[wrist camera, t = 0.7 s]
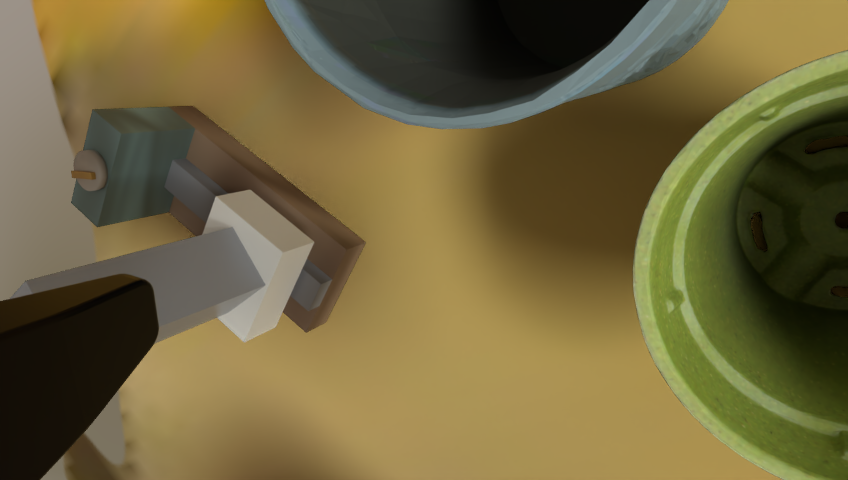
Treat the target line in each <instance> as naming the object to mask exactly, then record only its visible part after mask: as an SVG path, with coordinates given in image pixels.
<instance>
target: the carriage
mask: <svg viewBox="0 0 848 480" xmlns="http://www.w3.org/2000/svg"><path fill="white" fill-rule="evenodd" d="M313 244H314V241H313V240H312V239H310V238H309V237H308V236H307V235H305V234H304V233H303V232H302V231H300V230H299V229H298V228H297V227H296V226H294V225H293V224H292V223H291V222H289V221H288V220H287V219H286V218H285V217H283V216H282V215H281V214H280V213H278V212H277V211H276V210H275V209H273V208H272V207H271V206H270V205H269V204H267V203H266V202H265V201H264V200H262V199H261V198H260V197H259V196H257V195H256V194H255V193H254V192H253V191H251V190H245V191H240V192H235V193H230V194H225V195H220V196H216V197H215V200H214V203H213V206H212V208H211V211H210V214H209V217H208V220H207V223H206V225H205V228H204V231H203V234H202V235H199V236H196V237H192V238H188V239H184V240H180V241H176V242H173V243H169V244H165V245H161V246H157V247H153V248H150V249H146V250H142V251H138V252H134V253H130V254H127V255H123V256H119V257H115V258H111V259H107V260H104V261H100V262H96V263H92V264H88V265H85V266H81V267H77V268H73V269H70V270H65V271H61V272H58V273H54V274H50V275H46V276H43V277H39V278H35V279H31V280H27V281H25V282H24V283H23V284H22V285H21V287H20V288H19V289H18V290H17V291H16V292H15V293H14V295H13V296H12V297H11V298H10V299H12V298H16V297H21V296H25V295H29V294H34V293H38V292H42V291H47V290H51V289H55V288H59V287H64V286H68V285H72V284H77V283H81V282H85V281H90V280H94V279H98V278H103V277H107V276H111V275H116V274H130V275H133V276H136V277H139V278H142V279H145V280H147V281H148V282H150V283H151V285H152V287H153V289H154V295H155V302H156V308H157V315H158V322H159V333H158V337H157V339H156V341H155V343H157V342H159V341H162V340H164V339H166V338H169V337H171V336H174V335H176V334H178V333H181V332H183V331H186V330H188V329H190V328H193V327H195V326H198V325H200V324H202V323H205V322H207V321H210V320H212V319H215V318H218V319H219V320H220V321H221V322H222V323H224V324H225V325H226V326H227V327H228V328H229V329H230V330H231V331H232V332H233V333H234V334H236V335H237V336H238V337H239V338H240V339H241V340H242V341H243V342H246V341H248V340H250V339H252V338H254V337H257V336H259V335H261V334H263V333H265V332H267V331H269V330H271V329H273V328H275V327H276V325H277V323H278V321H279V319H280V317H281V314H282V312H283V310H284V308H285V306H286V303H287V301H288V299H289V297H290V295H291V292H292V290H293V288H294V286H295V284H296V281H297V279H298V277H299V275H300V273H301V270H302V268H303V266H304V264H305V262H306V260H307V257H308V255H309V253H310V251H311V249H312V246H313Z"/></svg>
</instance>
